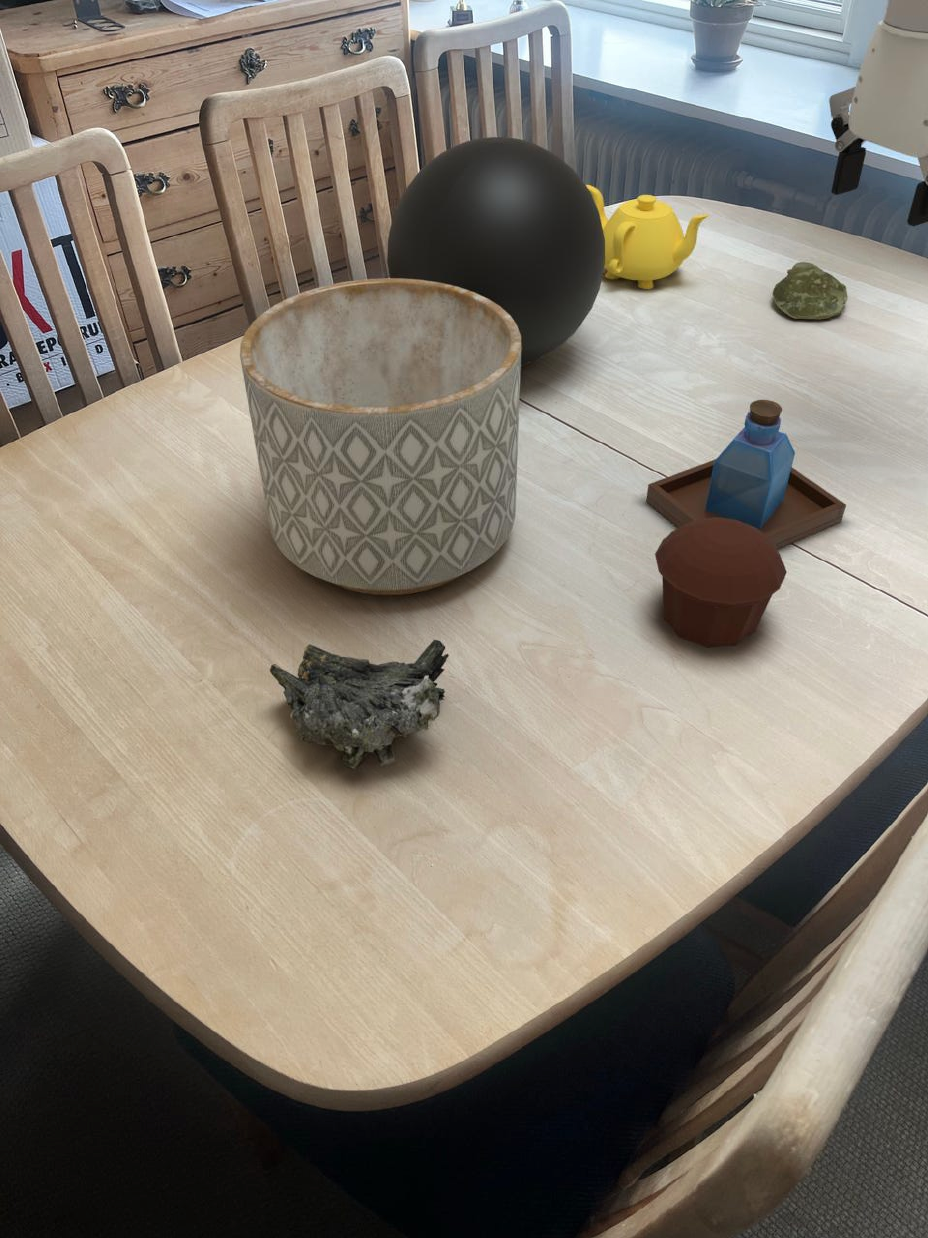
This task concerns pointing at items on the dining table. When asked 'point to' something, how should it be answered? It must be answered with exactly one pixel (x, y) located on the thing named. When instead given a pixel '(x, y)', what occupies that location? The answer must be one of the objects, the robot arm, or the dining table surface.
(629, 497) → the dining table surface
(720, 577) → the muffin
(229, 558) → the dining table surface
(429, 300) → the planter
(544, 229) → the ball
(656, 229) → the teapot
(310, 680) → the mineral specimen
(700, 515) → the tray
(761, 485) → the perfume bottle
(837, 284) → the olive green rounded lump
